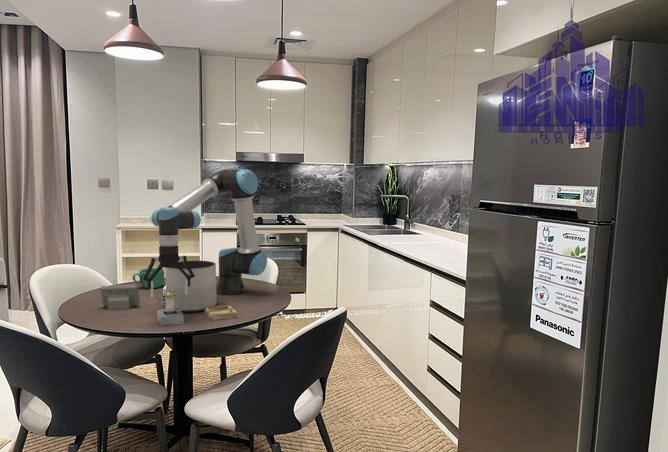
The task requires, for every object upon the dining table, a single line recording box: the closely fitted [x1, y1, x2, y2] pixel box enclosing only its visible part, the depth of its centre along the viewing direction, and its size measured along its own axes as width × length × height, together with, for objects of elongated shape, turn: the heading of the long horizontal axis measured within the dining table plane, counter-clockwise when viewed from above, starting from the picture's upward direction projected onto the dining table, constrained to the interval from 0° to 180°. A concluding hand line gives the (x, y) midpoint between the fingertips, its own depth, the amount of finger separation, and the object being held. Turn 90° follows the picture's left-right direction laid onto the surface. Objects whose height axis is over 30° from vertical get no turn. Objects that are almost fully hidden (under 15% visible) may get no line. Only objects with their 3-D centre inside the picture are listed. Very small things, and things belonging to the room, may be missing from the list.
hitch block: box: [156, 308, 185, 327], centre depth 202 cm, size 12×9×4 cm
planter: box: [165, 260, 218, 313], centre depth 224 cm, size 23×23×20 cm
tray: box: [204, 304, 238, 322], centre depth 211 cm, size 14×11×2 cm
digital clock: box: [99, 284, 140, 311], centre depth 221 cm, size 16×9×11 cm, turn 88°
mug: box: [132, 267, 165, 289], centre depth 263 cm, size 17×13×10 cm
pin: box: [162, 291, 176, 315], centre depth 202 cm, size 5×5×12 cm
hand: (169, 295), depth 201 cm, fingers open, 13 cm apart
